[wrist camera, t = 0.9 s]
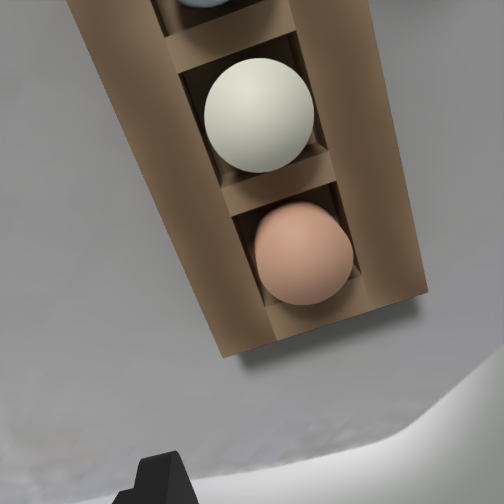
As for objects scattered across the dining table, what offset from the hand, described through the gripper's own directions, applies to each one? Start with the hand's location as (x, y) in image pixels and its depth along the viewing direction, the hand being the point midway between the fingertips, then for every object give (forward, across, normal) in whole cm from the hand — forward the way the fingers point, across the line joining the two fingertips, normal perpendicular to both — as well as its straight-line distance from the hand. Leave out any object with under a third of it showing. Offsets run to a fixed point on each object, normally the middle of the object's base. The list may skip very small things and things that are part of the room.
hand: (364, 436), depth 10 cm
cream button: (+15, 0, -6) cm, 16 cm away
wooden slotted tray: (+18, 0, -6) cm, 19 cm away
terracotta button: (+15, -1, +1) cm, 15 cm away
